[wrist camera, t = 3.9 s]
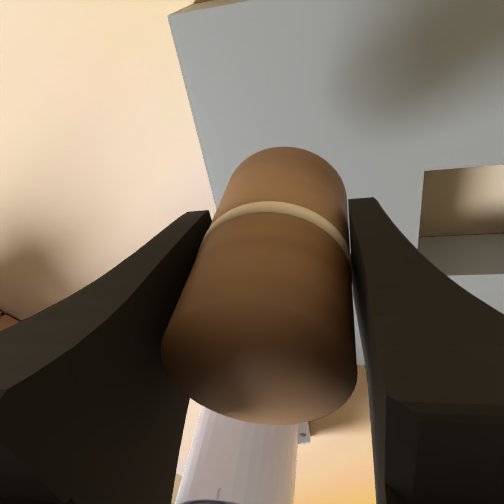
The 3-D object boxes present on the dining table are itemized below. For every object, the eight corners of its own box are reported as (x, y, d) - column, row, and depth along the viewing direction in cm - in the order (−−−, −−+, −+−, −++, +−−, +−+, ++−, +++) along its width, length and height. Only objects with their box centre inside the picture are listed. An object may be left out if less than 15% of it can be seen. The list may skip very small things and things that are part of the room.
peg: (350, 249, 13) (361, 429, 8) (238, 255, 14) (189, 421, 9) (345, 138, 11) (355, 295, 6) (212, 153, 11) (130, 300, 7)
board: (673, 324, 21) (716, 372, 19) (262, 325, 26) (255, 363, 24) (969, -143, 11) (1146, -166, 8) (192, 4, 16) (167, 15, 13)
